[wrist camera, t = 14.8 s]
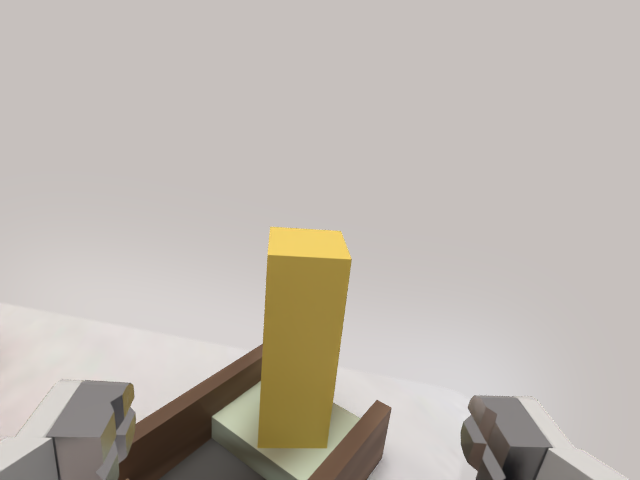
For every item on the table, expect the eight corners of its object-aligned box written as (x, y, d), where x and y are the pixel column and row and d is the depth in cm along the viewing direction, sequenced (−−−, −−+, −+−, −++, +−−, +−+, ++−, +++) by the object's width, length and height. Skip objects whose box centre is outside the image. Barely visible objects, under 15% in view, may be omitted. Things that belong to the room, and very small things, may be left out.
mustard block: (257, 448, 24) (267, 254, 19) (261, 398, 27) (270, 226, 23) (326, 448, 24) (351, 259, 20) (321, 399, 28) (341, 231, 24)
